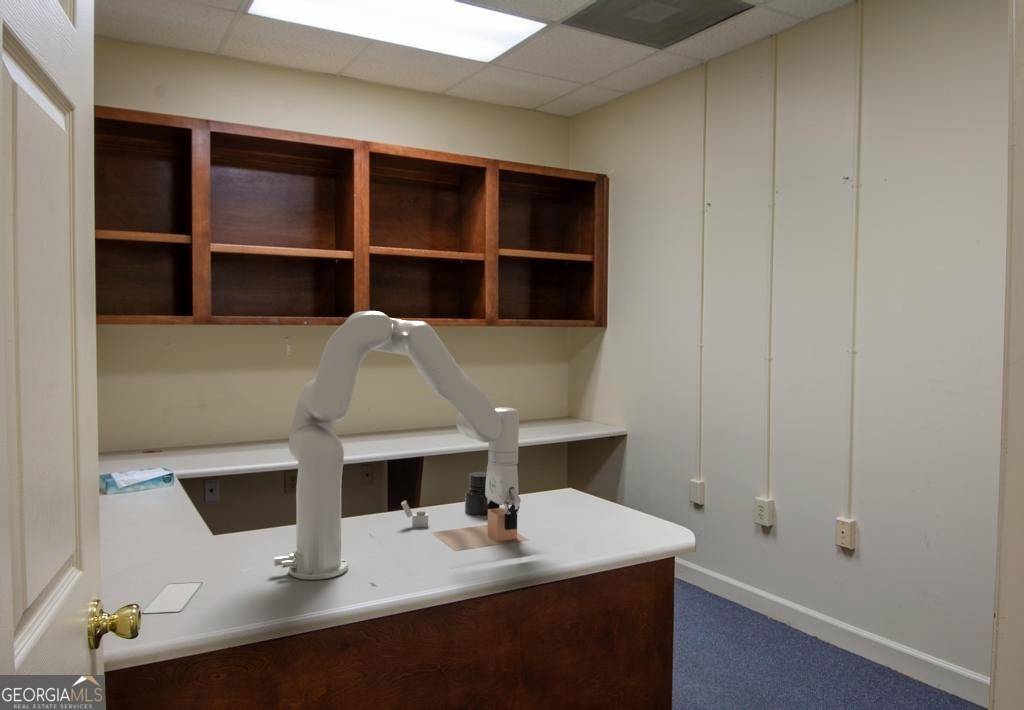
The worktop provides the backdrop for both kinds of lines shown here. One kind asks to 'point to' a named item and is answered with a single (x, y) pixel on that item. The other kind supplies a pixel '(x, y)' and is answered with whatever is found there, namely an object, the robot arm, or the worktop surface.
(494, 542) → the base board
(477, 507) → the ink bottle
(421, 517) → the lighter
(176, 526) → the worktop surface
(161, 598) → the smartphone
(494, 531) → the salmon orange block
